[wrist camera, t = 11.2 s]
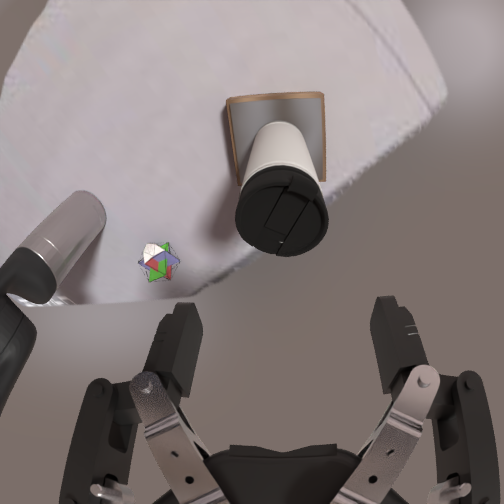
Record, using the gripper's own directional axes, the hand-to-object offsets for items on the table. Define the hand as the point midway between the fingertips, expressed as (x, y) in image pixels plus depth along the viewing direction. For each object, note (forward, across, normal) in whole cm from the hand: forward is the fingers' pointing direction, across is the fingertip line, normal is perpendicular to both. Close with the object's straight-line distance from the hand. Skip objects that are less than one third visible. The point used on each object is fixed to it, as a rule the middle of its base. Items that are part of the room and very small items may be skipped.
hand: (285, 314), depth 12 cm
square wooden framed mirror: (+31, 0, 0) cm, 31 cm away
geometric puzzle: (+32, +22, +19) cm, 43 cm away
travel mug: (+28, 0, 0) cm, 28 cm away
